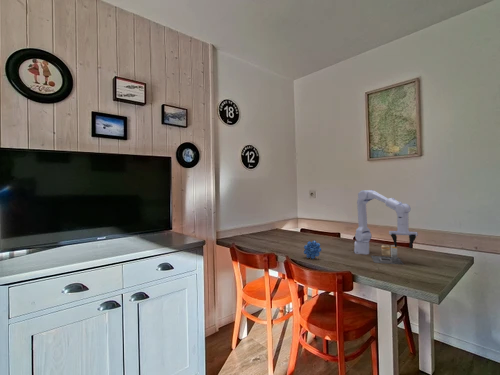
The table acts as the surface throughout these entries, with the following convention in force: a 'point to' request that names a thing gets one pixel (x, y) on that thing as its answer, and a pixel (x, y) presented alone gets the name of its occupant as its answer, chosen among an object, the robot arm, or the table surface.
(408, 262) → the table surface
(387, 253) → the taped cardboard box
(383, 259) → the base board
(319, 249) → the grapes
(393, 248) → the post
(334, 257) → the table surface
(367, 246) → the robot arm
